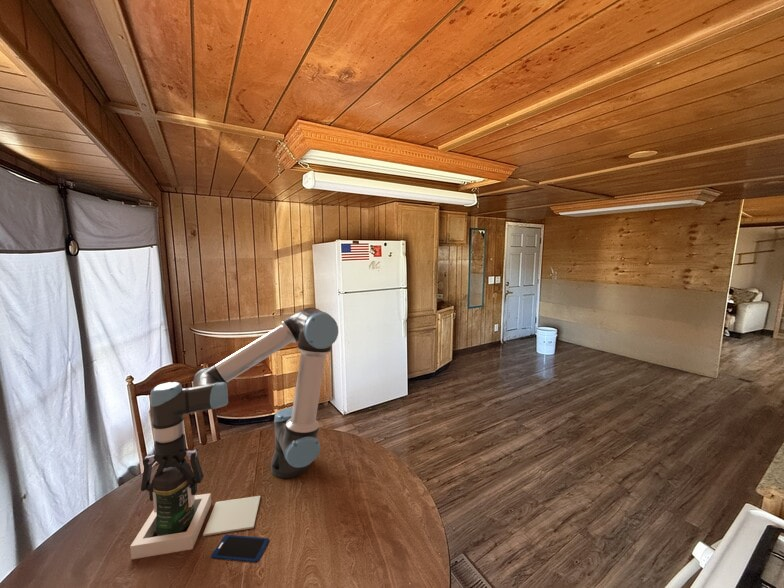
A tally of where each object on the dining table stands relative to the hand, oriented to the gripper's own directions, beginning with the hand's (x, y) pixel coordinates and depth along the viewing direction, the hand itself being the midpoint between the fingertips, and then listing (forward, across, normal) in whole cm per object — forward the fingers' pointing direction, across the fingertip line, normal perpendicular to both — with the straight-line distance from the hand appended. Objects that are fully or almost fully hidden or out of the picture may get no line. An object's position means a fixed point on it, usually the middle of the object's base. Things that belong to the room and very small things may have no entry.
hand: (175, 506), depth 97 cm
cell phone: (+8, -20, +11) cm, 25 cm away
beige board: (+8, -16, -2) cm, 18 cm away
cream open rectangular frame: (+7, 0, 0) cm, 7 cm away
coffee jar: (+7, 0, 0) cm, 7 cm away
